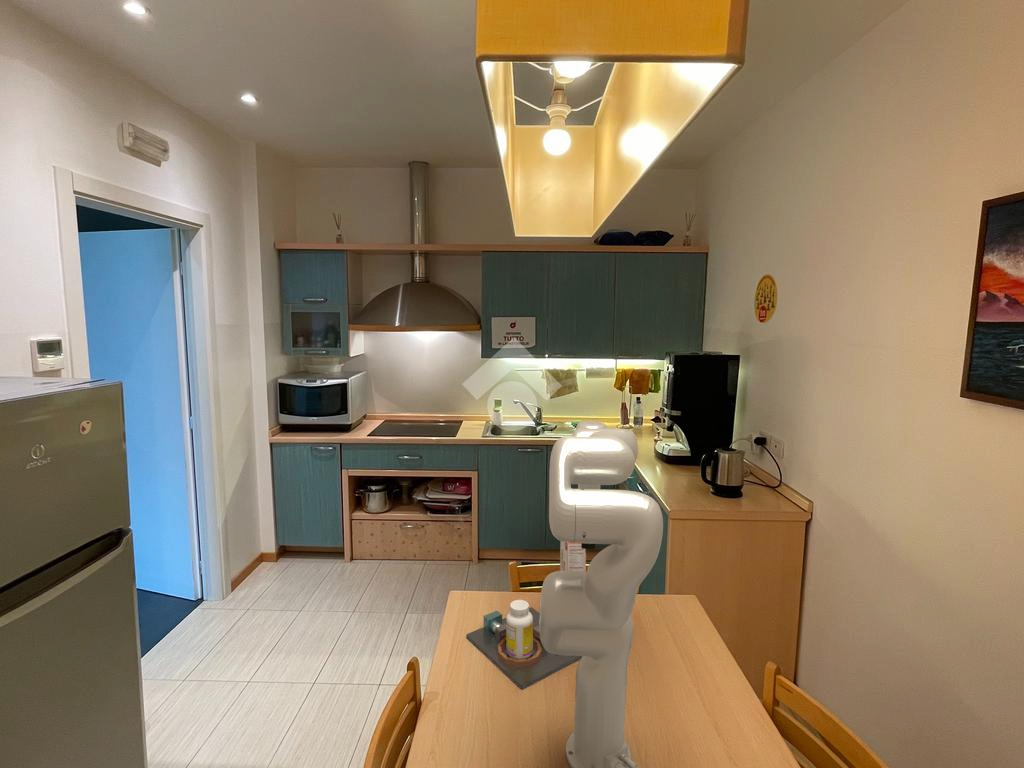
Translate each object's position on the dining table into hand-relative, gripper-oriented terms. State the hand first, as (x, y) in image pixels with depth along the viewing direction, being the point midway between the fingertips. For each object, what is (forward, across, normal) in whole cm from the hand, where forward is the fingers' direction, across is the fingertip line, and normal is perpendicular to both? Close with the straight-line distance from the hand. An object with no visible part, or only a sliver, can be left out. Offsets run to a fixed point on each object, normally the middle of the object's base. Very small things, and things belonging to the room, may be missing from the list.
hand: (588, 539), depth 129 cm
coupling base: (+30, -1, -15) cm, 34 cm away
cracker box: (+31, -26, -4) cm, 40 cm away
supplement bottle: (+30, +4, -16) cm, 34 cm away
